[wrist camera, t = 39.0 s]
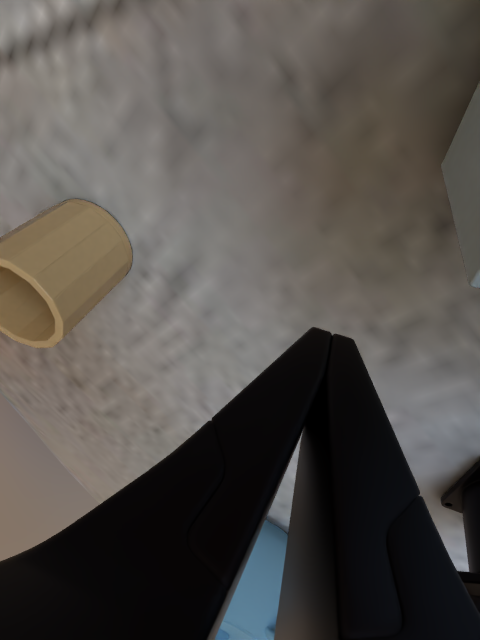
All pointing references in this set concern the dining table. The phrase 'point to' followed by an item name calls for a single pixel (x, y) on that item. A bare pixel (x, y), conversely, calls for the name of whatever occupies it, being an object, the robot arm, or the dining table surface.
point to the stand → (59, 270)
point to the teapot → (257, 590)
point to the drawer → (466, 187)
